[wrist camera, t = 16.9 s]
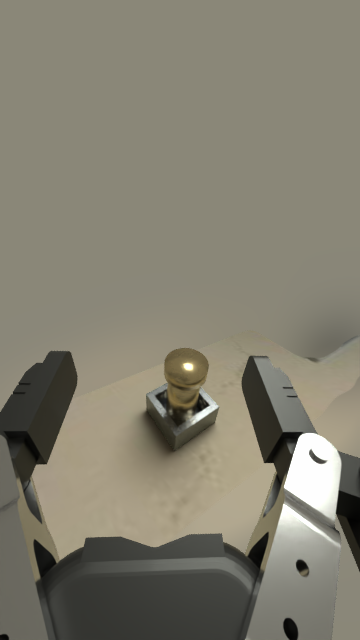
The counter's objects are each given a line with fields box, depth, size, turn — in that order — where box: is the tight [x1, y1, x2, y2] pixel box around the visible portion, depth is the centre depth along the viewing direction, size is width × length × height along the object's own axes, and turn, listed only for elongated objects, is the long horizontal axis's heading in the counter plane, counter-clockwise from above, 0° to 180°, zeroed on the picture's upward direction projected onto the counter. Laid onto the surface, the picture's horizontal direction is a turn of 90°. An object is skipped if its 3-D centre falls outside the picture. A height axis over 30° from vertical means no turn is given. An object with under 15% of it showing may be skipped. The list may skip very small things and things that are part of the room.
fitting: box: [164, 348, 209, 427], centre depth 38 cm, size 6×6×13 cm
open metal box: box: [146, 383, 219, 451], centre depth 41 cm, size 9×9×4 cm
